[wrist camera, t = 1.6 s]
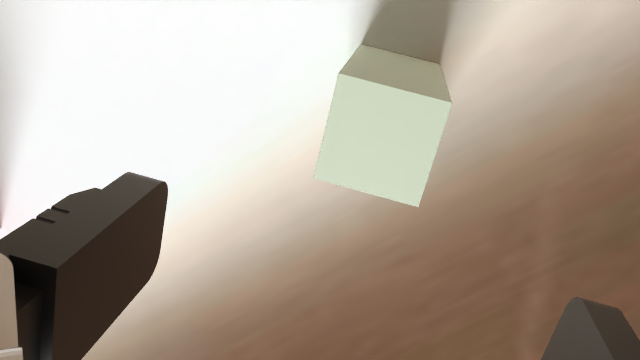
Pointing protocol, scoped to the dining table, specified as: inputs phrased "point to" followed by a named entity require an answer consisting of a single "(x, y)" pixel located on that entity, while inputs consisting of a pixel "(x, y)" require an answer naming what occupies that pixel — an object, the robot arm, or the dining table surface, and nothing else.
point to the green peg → (384, 125)
